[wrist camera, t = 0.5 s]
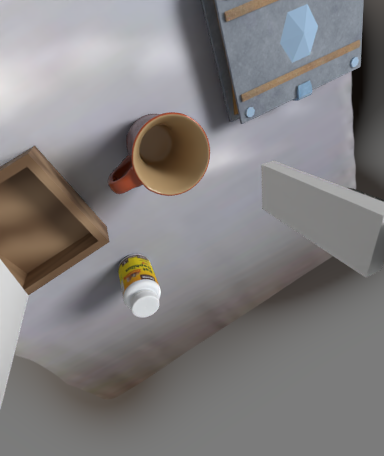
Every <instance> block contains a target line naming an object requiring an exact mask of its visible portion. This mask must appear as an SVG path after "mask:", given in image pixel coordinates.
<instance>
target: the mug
mask: <svg viewBox="0 0 384 456" xmlns="http://www.w3.org/2000/svg"><path fill="white" fill-rule="evenodd" d="M126 142H127V151H128V154H129V155H128V156H127V157H126V158H125V159H124V160H123V161H122V162H121V164H120V165H119V166H118V167H117V168H116V169H115V170H114V171H113V172H112V173H111V174H110V176H109V178H108V185H109V187H110V188H111V189H112V191H113V192H114V193H116V194H122V193H125V192H127V191H129V190H131V189H133V188H135V187H139V186H141V185H144V186H145V187H146V188H147V189H148V190H150V191H152V192H154V193H157V194H160V195H166V196H172V195H178V194H182V193H184V192H186V191H188V190H190V189H191V188H193V187H194V186H195V185H196V184H197V183H198V182H199V181H200V180H201V179H202V177H203V176H204V174H205V172H206V170H207V167H208V164H209V159H210V146H209V142H208V138H207V136H206V134H205V132H204V130H203V129H202V127H201V126H200V125H199V124H198V123H197V122H196V121H195V120H194V119H192V118H191V117H189V116H187V115H184V114H181V113H173V112H171V113H163V114H148V115H145V116H143V117H141V118H139V119H138V120H137V121H136V122H135V123H134V124H133V125H132V126H131V128H130V130H129V132H128V134H127V139H126Z"/></svg>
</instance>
